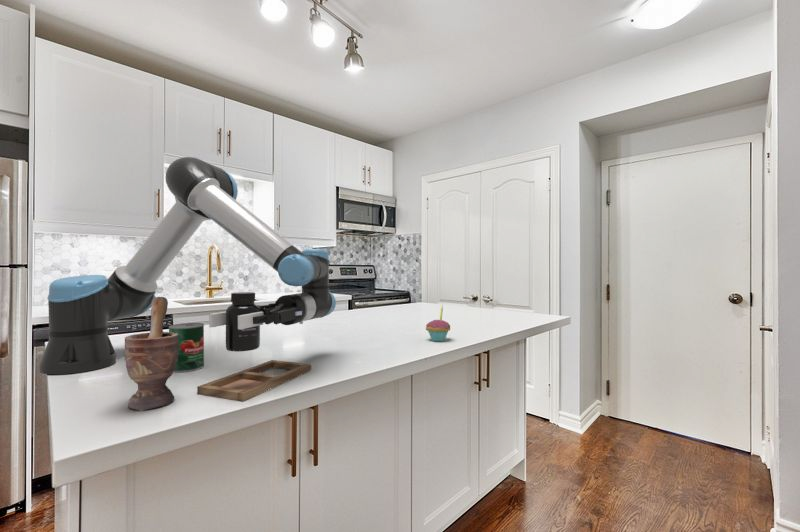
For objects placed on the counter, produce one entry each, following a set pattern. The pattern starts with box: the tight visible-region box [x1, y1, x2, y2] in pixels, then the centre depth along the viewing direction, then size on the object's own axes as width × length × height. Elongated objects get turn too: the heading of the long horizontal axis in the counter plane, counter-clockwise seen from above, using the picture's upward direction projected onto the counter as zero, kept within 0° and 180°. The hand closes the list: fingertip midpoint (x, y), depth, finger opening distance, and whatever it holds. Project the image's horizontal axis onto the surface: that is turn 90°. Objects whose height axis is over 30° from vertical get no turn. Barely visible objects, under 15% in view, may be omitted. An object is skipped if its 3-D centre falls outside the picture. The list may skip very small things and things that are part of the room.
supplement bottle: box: [225, 291, 261, 353], centre depth 82 cm, size 7×7×12 cm
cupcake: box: [425, 305, 451, 342], centre depth 133 cm, size 9×8×12 cm
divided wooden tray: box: [196, 359, 312, 402], centre depth 87 cm, size 12×23×2 cm, turn 159°
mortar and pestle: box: [124, 296, 178, 412], centre depth 74 cm, size 12×9×20 cm
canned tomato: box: [168, 322, 205, 373], centre depth 98 cm, size 8×8×11 cm
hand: (224, 321), depth 77 cm, fingers closed on supplement bottle, 7 cm apart
